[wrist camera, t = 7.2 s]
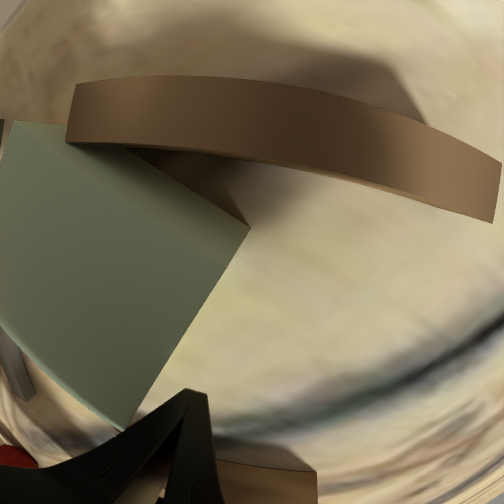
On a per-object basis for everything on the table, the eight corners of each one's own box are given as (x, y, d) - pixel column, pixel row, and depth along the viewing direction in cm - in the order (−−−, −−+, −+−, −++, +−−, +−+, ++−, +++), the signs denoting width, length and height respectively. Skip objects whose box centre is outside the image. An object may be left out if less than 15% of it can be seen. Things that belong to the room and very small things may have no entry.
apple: (28, 464, 23) (0, 504, 12) (-8, 420, 20) (-44, 461, 9) (70, 489, 21) (41, 538, 10) (28, 445, 19) (-13, 498, 7)
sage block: (45, 274, 10) (-15, 307, 7) (93, 129, 8) (13, 120, 5) (163, 365, 11) (123, 432, 7) (251, 228, 9) (226, 268, 5)
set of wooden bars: (22, 384, 14) (1, 405, 11) (-8, 122, 9) (-48, 122, 6) (308, 483, 12) (308, 521, 10) (446, 162, 7) (502, 163, 4)
